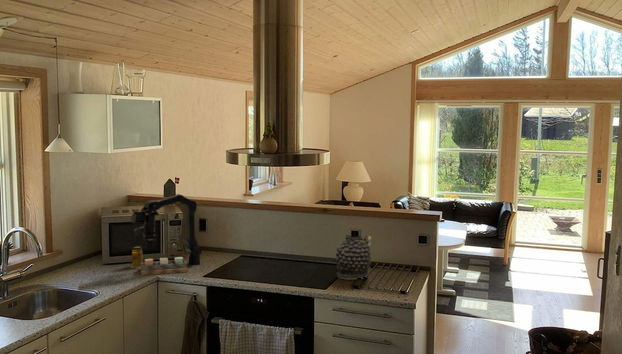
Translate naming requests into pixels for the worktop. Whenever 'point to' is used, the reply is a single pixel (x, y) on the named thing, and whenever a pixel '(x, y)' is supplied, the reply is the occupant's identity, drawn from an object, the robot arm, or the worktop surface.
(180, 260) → the key sage
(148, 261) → the key terracotta
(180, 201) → the robot arm
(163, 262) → the key cream
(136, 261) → the condiment
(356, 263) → the pine cone figurine
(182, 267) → the keypad
